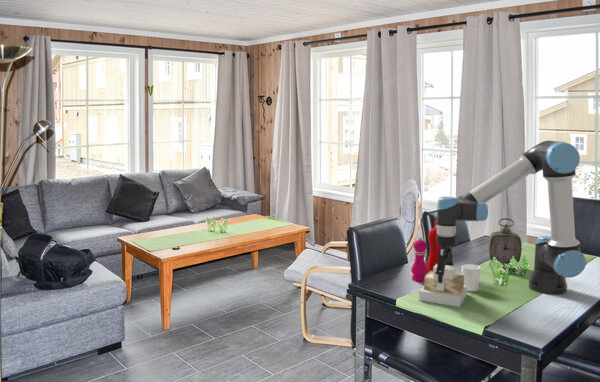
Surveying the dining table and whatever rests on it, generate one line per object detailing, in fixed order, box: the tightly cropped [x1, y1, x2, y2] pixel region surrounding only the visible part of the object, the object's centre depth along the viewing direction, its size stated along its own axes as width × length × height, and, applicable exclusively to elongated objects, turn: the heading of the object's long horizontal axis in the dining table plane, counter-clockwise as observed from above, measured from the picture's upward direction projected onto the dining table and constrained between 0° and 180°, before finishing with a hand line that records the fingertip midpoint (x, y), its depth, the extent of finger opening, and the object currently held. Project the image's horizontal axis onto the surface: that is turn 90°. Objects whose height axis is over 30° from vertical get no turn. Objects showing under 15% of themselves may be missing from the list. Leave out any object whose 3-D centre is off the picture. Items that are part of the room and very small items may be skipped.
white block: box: [433, 264, 457, 280], centre depth 216 cm, size 8×6×4 cm
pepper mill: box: [410, 236, 428, 283], centre depth 240 cm, size 7×7×20 cm
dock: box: [418, 285, 468, 308], centre depth 217 cm, size 16×16×4 cm
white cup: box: [460, 263, 481, 292], centre depth 227 cm, size 8×8×10 cm
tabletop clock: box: [488, 217, 522, 266], centre depth 257 cm, size 14×9×25 cm, turn 73°
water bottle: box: [426, 220, 441, 273], centre depth 250 cm, size 9×11×25 cm
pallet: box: [423, 271, 464, 294], centre depth 217 cm, size 14×10×5 cm
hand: (443, 285), depth 217 cm, fingers open, 13 cm apart
